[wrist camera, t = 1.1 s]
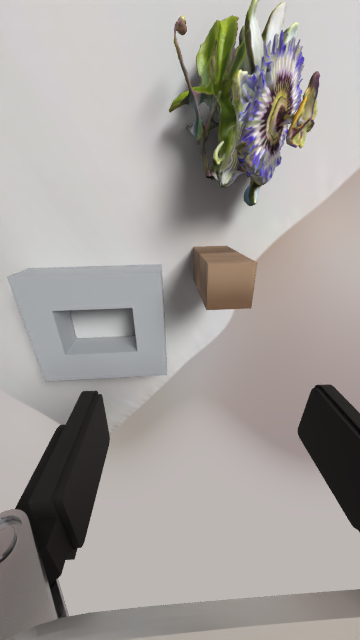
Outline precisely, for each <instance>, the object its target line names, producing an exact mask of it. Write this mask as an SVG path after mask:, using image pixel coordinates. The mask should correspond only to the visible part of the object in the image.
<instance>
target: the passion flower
mask: <svg viewBox="0 0 360 640" xmlns="http://www.w3.org/2000/svg"><path fill="white" fill-rule="evenodd" d="M258 1H259V0H252V2H251V5H250V7H249V10H248V12H247V14H246V20H245V26H243V27H242V29H241V31H240V34H239V47H238V48H237V49H235V48H234V46H235V43H236V36H237V30H238V27H237V26H238V23H237V20H238V19H239V17H236V16H233V15H232V16H230V17H229V18H226V19H224V20H222V21H218V20H217V21H216V22H215V23H214V25H213V27H212V28H211V30H210V32H209V34H208V36H207V38H206V40H205V42H204V43H203V44H201V46H200V50H199V52H198V54H197V57H196V64H197V70H198V76H199V82H200V85H199V87H193V88H192V87H191V83H190V80H189V77H188V72H187V70H186V68H185V66H184V63H183V59H182V55H181V51H180V48H179V45H178V42H177V39H176V31H178V33H179V34H181V35H184V34H185V33H186V31H187V27H186V21H185V17H184V16H183V15H182V16H181V17H180V18H179V19H178V21H177V22H176V24H175V28H174V44H175V47H176V50H177V54H178V58H179V60H180V64H181V67H182V70H183V73H184V76H185V79H186V82H187V84H188V87H189V90H188V91H186V92H184V93H182V94H180V95H179V96H178V97H177V98H176V99H175V100H174V101H173V103H172V105H171V107H170V109H169V112H172V111H173V110H175V109H176V108H178V107H180V106H181V105H184V104H188V105H191V106H193V108H194V109H195V112H196V119H195V120H194V123H193V125H192V127H191V128H190V127H189V126H187V127H186V128H187V129H188V130H189V132H191V133H192V134H193V135H194V136H195V138H196V141H197V143H198V144H199V145H200V147H201V153H202V156H203V162H204V171H205V175H206V177H207V178H210V179H211V180H217V181H218V179H219V186H220V187H224V188H227V187H229V186H230V185H231V184H232V183H233V182H234V181H235V179H236V178H237V177H238V176H239V175H241V174H243V173H247V177H250V178H251V181H250V185H249V187H248V188H247V189H246V190H245V193H244V201H245V202H246V203H247V204H248V205H249V206H252V205H255V204H256V203H257V195H258V191H259V187H261V186H262V185H264V184H266V183H267V182H268V181H269V180H270V179H271V178H272V175H273V172H274V169H275V167H277V166H278V165H279V164H280V163H281V156H280V150H281V147H282V146H283V144H284V142H283V141H284V140H285V136H286V134H287V136H286V142H287V144H289V145H290V146H292V147H295V148H296V147H297V146H299V147H300V148H302V147H303V146H304V143H305V138H306V134H307V132H309V131H310V130H311V129H312V127H313V125H314V121H313V120H314V118H315V116H316V114H317V100H316V97H317V94H318V87H319V77H320V74H319V72H317V71H316V72H315V73H314V74H313V75H312V77H311V79H310V82H309V85H308V88H307V90H306V91H305V93H304V95H303V101H302V102H301V94H302V90H301V89H300V88H299V84H300V82H301V81H302V80H303V79H301V80H300V82H299V79H300V77H301V71H302V69H303V67H304V63H303V62H304V57H303V56H302V52H301V50H302V47H303V46H301V47H300V48H299V42H300V39H299V42H298V44H297V45H296V46H295V37H296V35H297V31H298V26H299V24H298V23H297V22H296V23H294V24H293V25H292V26H291V27H290V28H288V29H286V31H285V32H283V30H282V28H283V23H284V17H285V10H286V3H285V2H284V3H283V2H282V3H280V4H279V5H278V6H277V7H276V8H275V9H274V10H273V11H272V13H271V15H270V17H269V19H268V22H267V24H266V26H265V29H264V31H263V33H262V35H261V31H260V29H259V22H258V20H257V19H256V18H255V13H256V8H257V3H258ZM232 99H233V105H234V106H233V105H232V103H231V100H232ZM202 102H205V103H206V104H207V105H208V106H209V107H210V116H209V119H208V121H207V123H206V125H205V126H204V125H203V121H202V118H201V115H200V110H199V105H200V104H201V103H202ZM298 107H299V108H298ZM216 109H217V110H218V113H219V122H218V123H216V122H215V121H214V119H213V117H214V112H215V110H216ZM297 109H298V110H297ZM296 110H297V112H296ZM295 112H296V114H295V115H294V113H295ZM290 123H291V126H290V128H289V130H288V129H287V127H288V124H290ZM218 126H219V127H218ZM215 127H218V146H217V148H216V149H215V151H214V154H213V166H212V167H211V169H210V168H209V167H208V161H207V156H206V150H205V141H206V140H207V138H208V135H209V132H210V131H211V130H212V129H213V128H215ZM218 152H220V158H219V157H218Z"/></svg>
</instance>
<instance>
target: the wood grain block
mask: <svg viewBox="0 0 360 640" xmlns="http://www.w3.org/2000/svg"><path fill="white" fill-rule="evenodd" d="M256 268H257V262H255V261H253V260H251V259H250V258H248V257H246V256H244V255H242V254H240V253H239V252H237V251H235V250H233V249H231V248H229V247H228V246H206V247H194V282H195V284H196V286H197V289H198V291H199V293H200V296H201V298H202V301H203V303H204V305H205V308H206V310H220V309H243V308H251V306H252V298H253V291H254V283H255V276H256Z"/></svg>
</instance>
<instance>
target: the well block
mask: <svg viewBox="0 0 360 640" xmlns="http://www.w3.org/2000/svg"><path fill="white" fill-rule="evenodd" d="M7 278H8V281H9V284H10V286H11V289H12V292H13V294H14V297H15V300H16V303H17V305H18V308H19V311H20V314H21V316H22V319H23V322H24V324H25V327H26V330H27V333H28V335H29V338H30V341H31V343H32V346H33V349H34V352H35V354H36V357H37V360H38V363H39V365H40V368H41V371H42V373H43V376H44V379H45V381H62V380H81V379H100V378H119V377H138V376H158V375H167V358H166V339H165V320H164V301H163V282H162V265H129V266H94V267H60V268H28V269H26V270H23V271H21V272H19V273H16V274H14V275H11V276H9V277H7ZM118 308H132V309H133V318H134V326H135V334H136V336H124V337H101V338H79V339H77V338H76V334H75V330H74V326H73V323H72V319H71V315H70V311H69V310H91V309H118Z"/></svg>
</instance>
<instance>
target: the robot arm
mask: <svg viewBox="0 0 360 640" xmlns="http://www.w3.org/2000/svg"><path fill="white" fill-rule="evenodd" d="M298 435H299V437H300V439H301V441H302V443H303V444H304V446H305V448H306V449H307V451H308V453H309V454H310V456H311V458H312V459H313V461H314V463H315V464H316V466H317V467H318V469H319V471H320V473H321V474H322V476H323V478H324V479H325V481H326V483H327V484H328V486H329V488H330V489H331V491H332V493H333V494H334V496H335V498H336V499H337V501H338V503H339V504H340V506H341V508H342V509H343V511H344V513H345V515H346V516H347V518H348V520H349V521H350V523H351V524H352V526H353V527H354V528H356V529H358V530H359V532H360V413H359V412H358V411H357V410H356V409H355V408H354V407H353V406H352V405H351V404H350V403H349V402H348V401H347V400H346V399H345V398H344V397H343V396H342V395H341V394H340V393H339V392H338V391H337V390H336V388H335V387H333V386H332V385H316V386H315V387H314V388H313V389H312V390H311V393H310V396H309V399H308V401H307V404H306V407H305V410H304V413H303V416H302V418H301V421H300V424H299V427H298ZM109 440H110V438H109V431H108V425H107V420H106V414H105V408H104V403H103V397H102V395H101V394H98V392H97V391H83V392H82V393H81V395H80V397H79V399H78V401H77V403H76V405H75V407H74V409H73V411H72V413H71V415H70V417H69V419H68V421H67V423H66V425H60V426H59V427H58V428H57V429H56V431H55V433H54V435H53V437H52V439H51V441H50V442H49V445H48V447H47V448H46V450H45V452H44V454H43V456H42V458H41V460H40V462H39V464H38V466H37V468H36V469H35V471H34V473H33V475H32V477H31V479H30V481H29V483H28V485H27V487H26V489H25V491H24V493H23V495H22V496H21V498H20V500H19V502H18V504H17V506H16V508H15V509H11V510H8V511H4V512H2V513H0V640H360V589H358V590H344V591H332V592H331V591H330V592H317V593H306V594H292V595H279V596H267V597H255V598H243V599H230V600H218V601H206V602H194V603H184V604H171V605H160V606H148V607H138V608H129V609H120V610H111V611H102V612H93V613H86V614H81V615H75V616H70V617H69V615H68V611H67V608H66V604H65V601H64V598H63V594H62V591H61V587H60V584H59V581H58V578H59V576H60V575H61V573H62V570H63V566H64V563H65V560H71V559H75V555H76V552H77V548H81V547H82V546H83V543H84V541H85V537H86V533H87V529H88V525H89V521H90V517H91V513H92V509H93V505H94V502H95V497H96V494H97V489H98V486H99V482H100V478H101V474H102V470H103V466H104V462H105V458H106V454H107V450H108V446H109Z"/></svg>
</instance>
